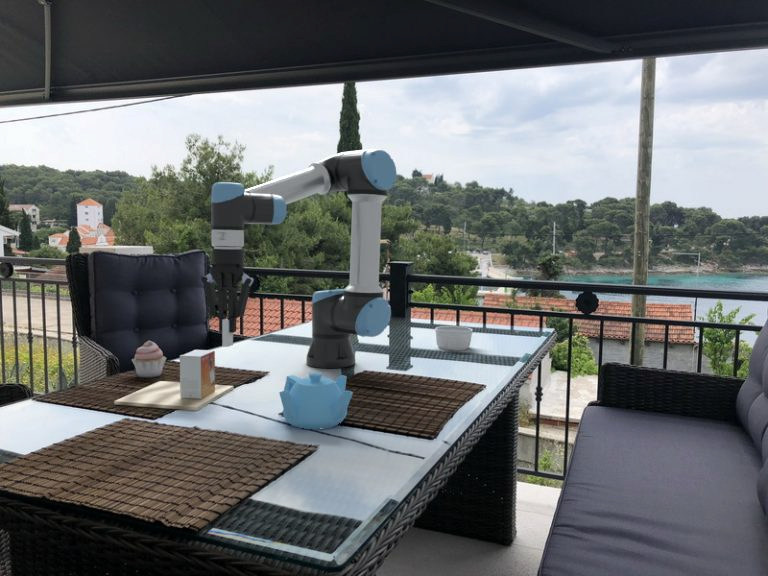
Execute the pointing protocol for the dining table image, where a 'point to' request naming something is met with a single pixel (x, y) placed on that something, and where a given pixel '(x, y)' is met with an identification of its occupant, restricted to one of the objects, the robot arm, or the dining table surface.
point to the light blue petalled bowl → (315, 401)
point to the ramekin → (453, 337)
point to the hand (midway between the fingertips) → (227, 345)
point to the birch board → (169, 397)
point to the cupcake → (149, 360)
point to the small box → (197, 374)
